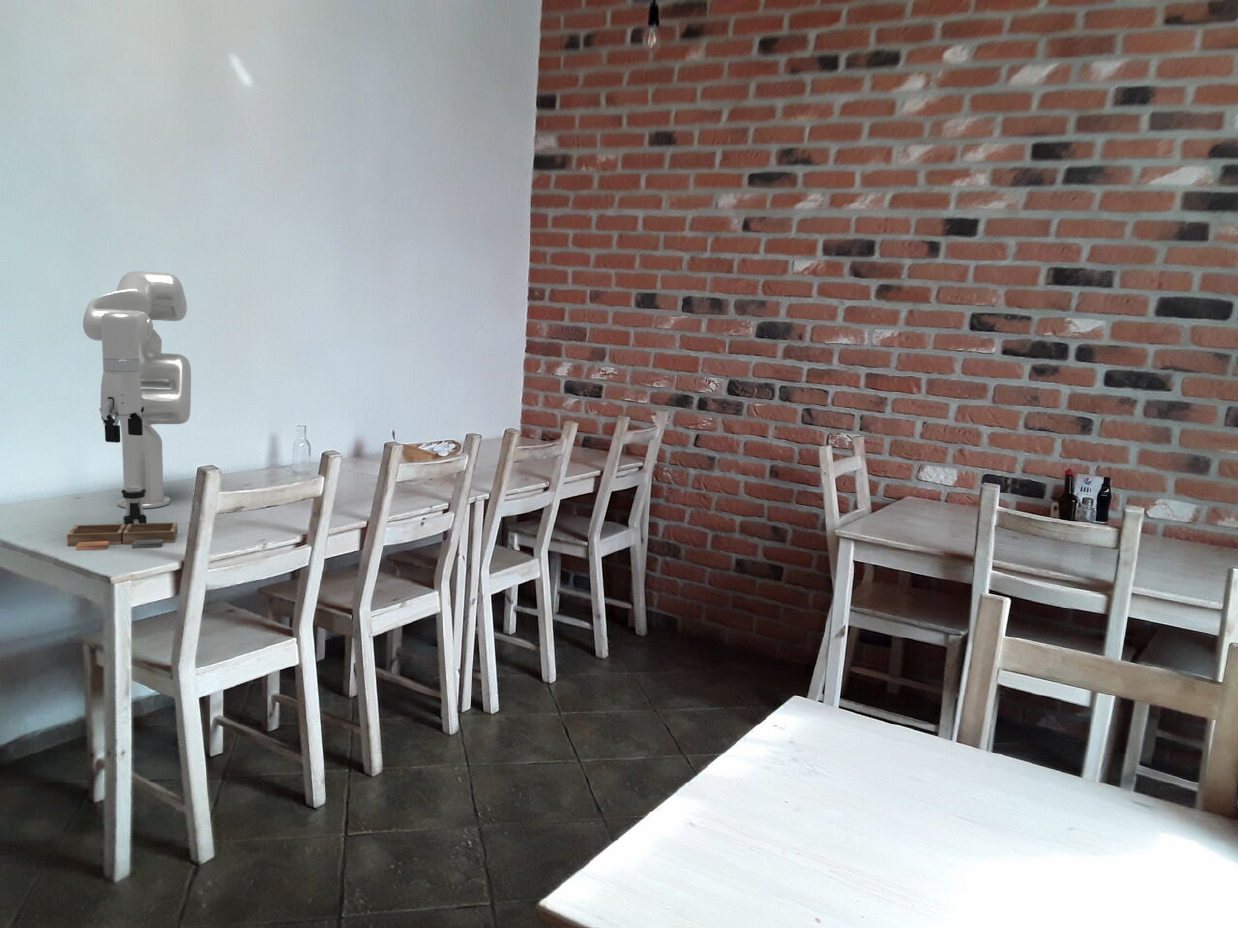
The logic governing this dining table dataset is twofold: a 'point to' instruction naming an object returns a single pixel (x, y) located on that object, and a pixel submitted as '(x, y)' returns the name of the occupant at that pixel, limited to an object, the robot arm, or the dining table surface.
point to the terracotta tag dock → (95, 536)
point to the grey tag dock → (149, 534)
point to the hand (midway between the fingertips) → (124, 438)
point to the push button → (133, 505)
